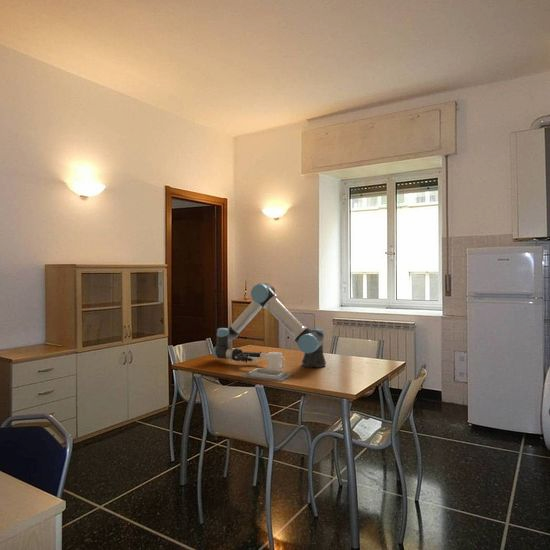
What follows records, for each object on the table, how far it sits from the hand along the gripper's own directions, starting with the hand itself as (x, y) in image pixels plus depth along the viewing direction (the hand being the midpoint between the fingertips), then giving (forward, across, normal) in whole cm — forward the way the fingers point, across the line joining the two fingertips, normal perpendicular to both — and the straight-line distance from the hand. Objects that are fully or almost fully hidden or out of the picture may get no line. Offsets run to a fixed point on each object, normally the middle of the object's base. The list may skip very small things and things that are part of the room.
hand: (263, 358), depth 270 cm
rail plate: (+12, +16, -6) cm, 21 cm away
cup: (+10, 0, -6) cm, 12 cm away
